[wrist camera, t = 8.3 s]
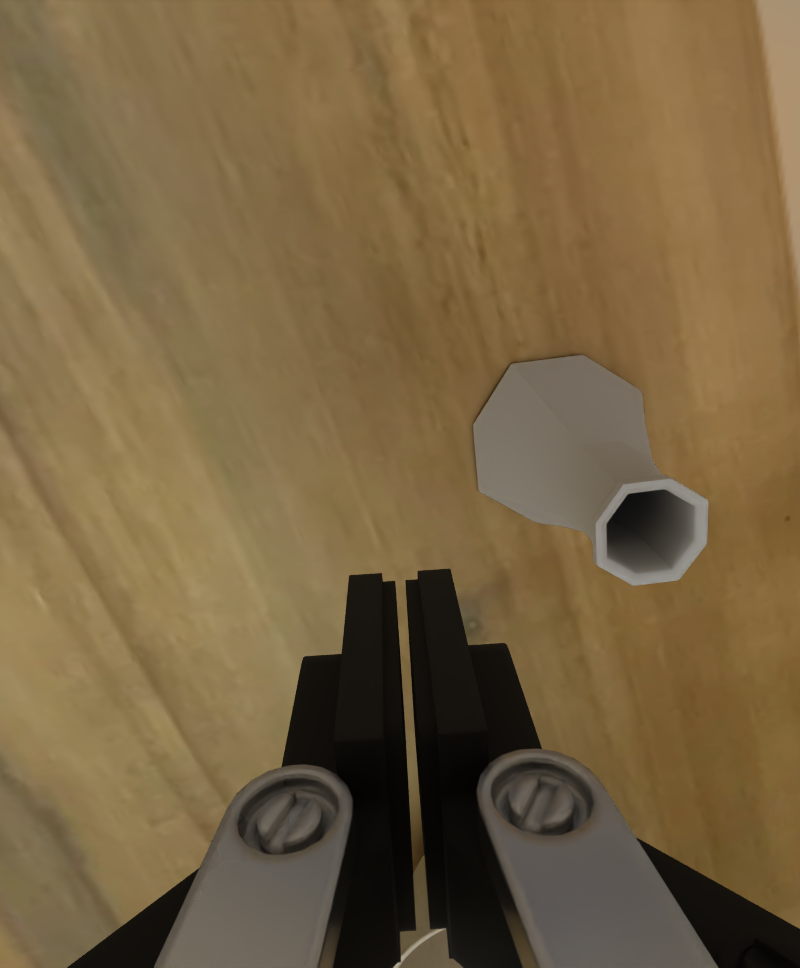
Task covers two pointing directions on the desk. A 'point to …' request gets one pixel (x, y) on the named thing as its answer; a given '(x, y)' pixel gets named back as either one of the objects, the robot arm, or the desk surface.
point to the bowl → (424, 933)
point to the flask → (587, 467)
